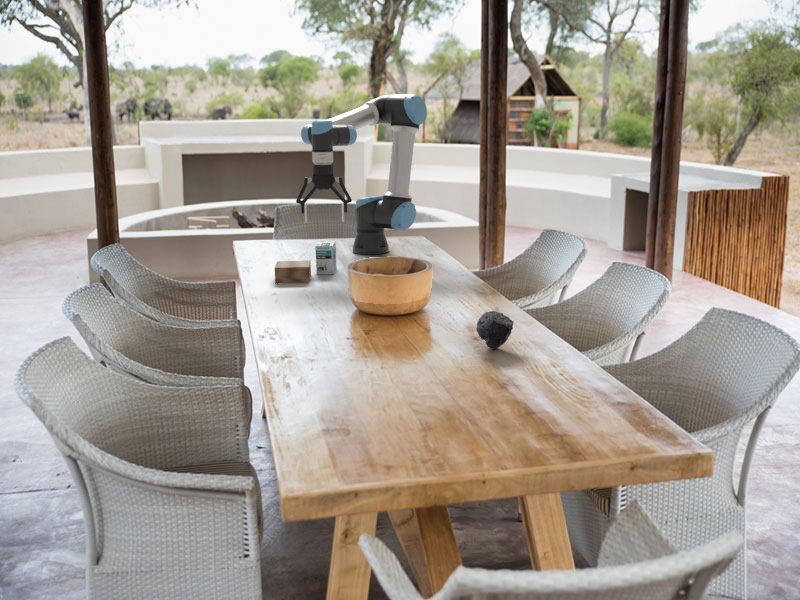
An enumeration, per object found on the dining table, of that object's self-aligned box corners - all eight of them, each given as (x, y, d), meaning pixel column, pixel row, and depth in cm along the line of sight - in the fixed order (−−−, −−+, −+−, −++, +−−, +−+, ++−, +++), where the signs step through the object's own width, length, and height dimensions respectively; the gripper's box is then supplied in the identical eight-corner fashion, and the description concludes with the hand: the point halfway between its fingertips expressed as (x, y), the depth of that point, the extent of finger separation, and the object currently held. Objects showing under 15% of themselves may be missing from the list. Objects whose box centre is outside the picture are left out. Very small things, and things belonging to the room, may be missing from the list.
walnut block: (311, 276, 305) (310, 260, 304) (309, 283, 293) (309, 266, 292) (278, 277, 304) (277, 261, 303) (275, 284, 293) (274, 267, 291)
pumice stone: (483, 355, 210) (483, 317, 207) (470, 347, 217) (471, 310, 214) (520, 351, 213) (521, 313, 211) (506, 343, 220) (507, 306, 218)
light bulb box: (334, 274, 306) (333, 245, 304) (316, 274, 306) (314, 246, 304) (337, 268, 317) (336, 240, 314) (319, 268, 317) (318, 240, 314)
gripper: (287, 165, 297) (290, 224, 302) (357, 163, 299) (358, 222, 304) (288, 163, 304) (290, 221, 309) (356, 162, 307) (357, 219, 312)
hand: (324, 222), depth 307 cm, fingers open, 13 cm apart
